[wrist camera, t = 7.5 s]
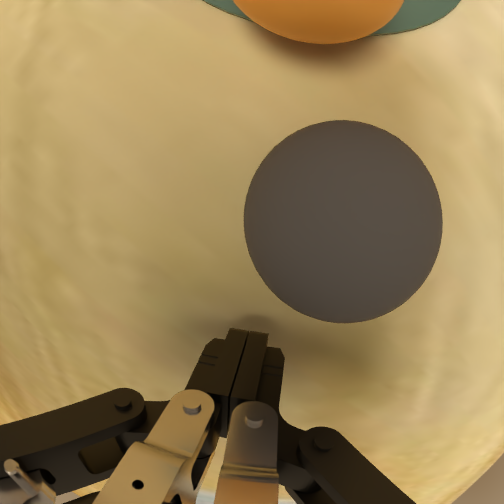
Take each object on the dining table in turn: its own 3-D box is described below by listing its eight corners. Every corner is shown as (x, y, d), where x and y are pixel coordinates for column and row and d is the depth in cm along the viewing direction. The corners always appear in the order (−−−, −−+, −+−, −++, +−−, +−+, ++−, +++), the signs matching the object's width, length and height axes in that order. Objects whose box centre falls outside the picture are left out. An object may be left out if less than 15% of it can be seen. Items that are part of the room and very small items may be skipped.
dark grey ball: (499, 248, 4) (436, 98, 7) (179, 219, 5) (254, 88, 8) (415, 358, 8) (410, 223, 11) (243, 338, 10) (278, 212, 13)
